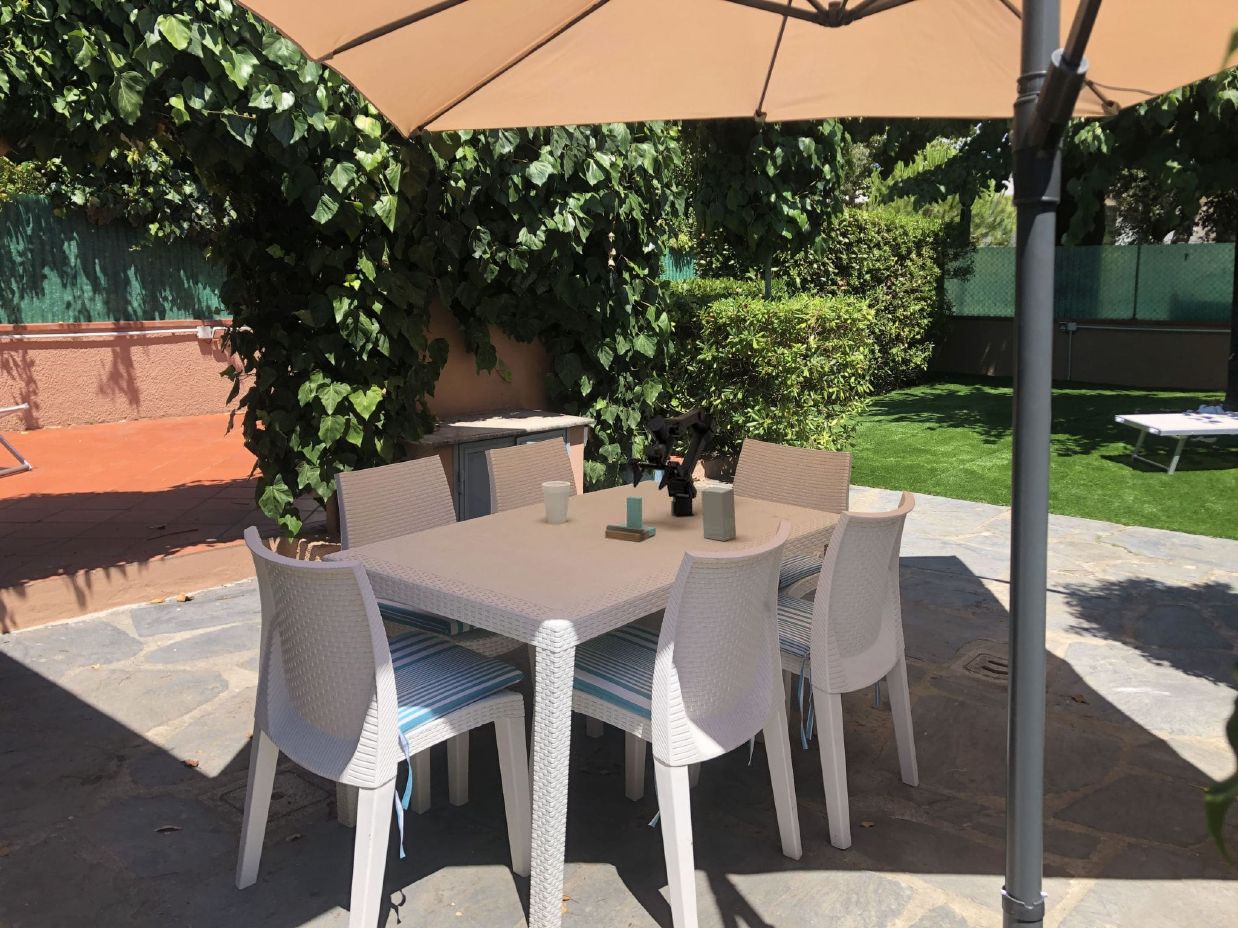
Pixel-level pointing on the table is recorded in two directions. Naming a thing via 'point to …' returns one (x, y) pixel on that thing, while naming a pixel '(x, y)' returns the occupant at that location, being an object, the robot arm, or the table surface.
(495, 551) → the table surface
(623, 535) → the board
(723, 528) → the skincare box
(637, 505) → the teal t-shaped block
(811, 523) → the table surface
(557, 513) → the foam cup
